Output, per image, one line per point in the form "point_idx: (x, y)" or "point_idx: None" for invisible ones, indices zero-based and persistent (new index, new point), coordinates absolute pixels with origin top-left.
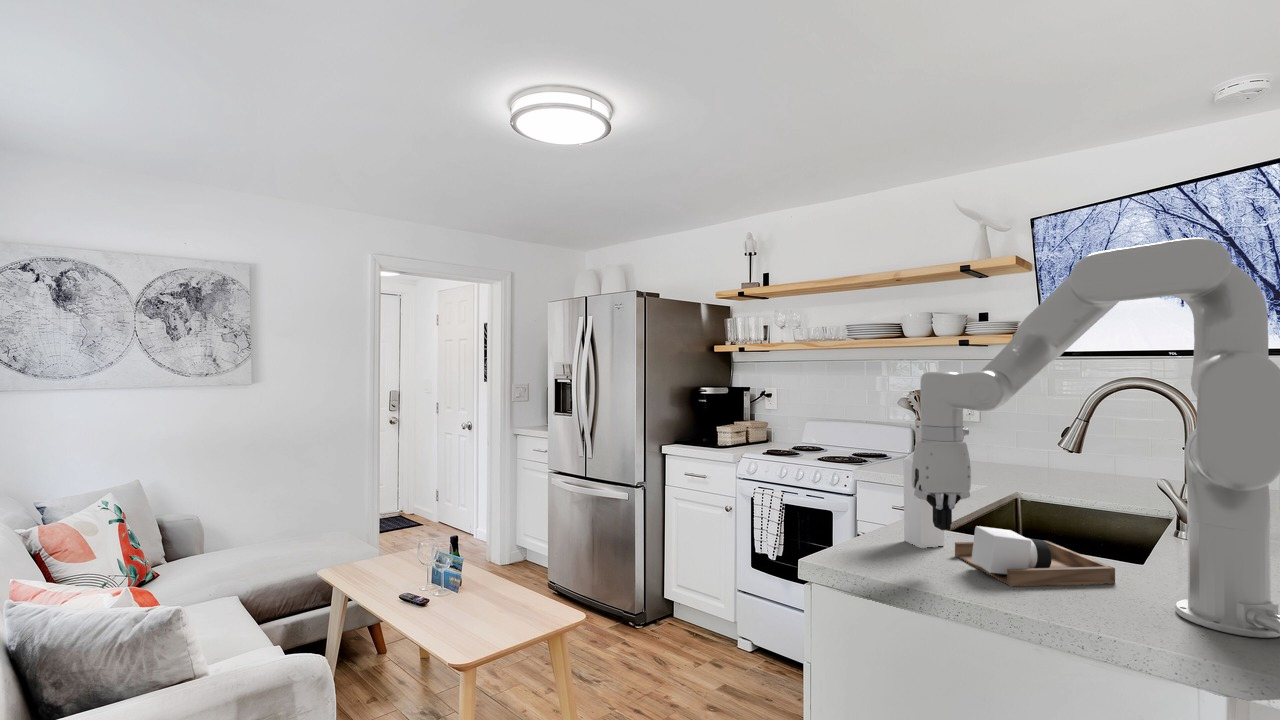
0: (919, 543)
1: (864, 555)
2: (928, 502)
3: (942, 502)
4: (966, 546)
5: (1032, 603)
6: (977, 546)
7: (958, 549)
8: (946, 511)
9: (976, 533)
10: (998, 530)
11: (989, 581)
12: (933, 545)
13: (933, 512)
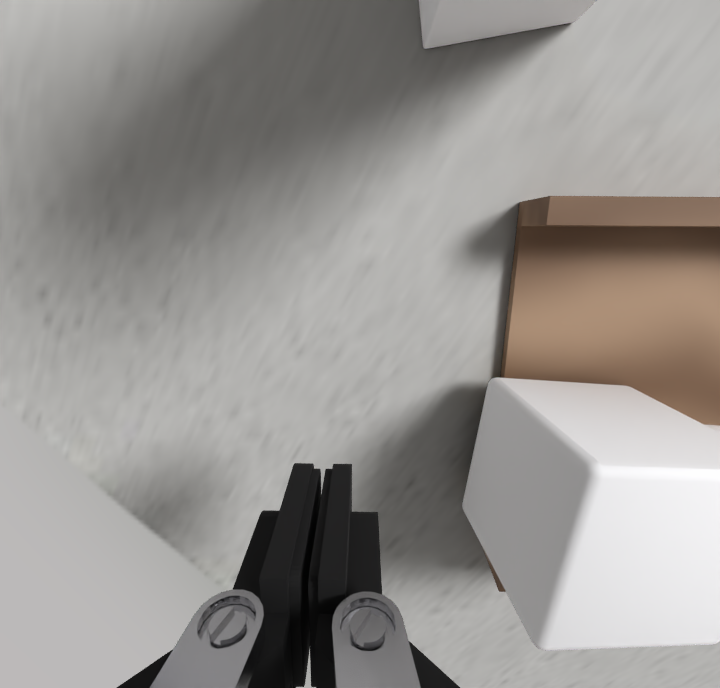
0: (424, 25)
1: (80, 150)
2: (150, 671)
3: (331, 657)
4: (589, 225)
5: (447, 648)
6: (514, 456)
7: (537, 225)
8: (311, 682)
9: (557, 468)
10: (680, 531)
11: (447, 498)
12: (507, 29)
13: (242, 579)
